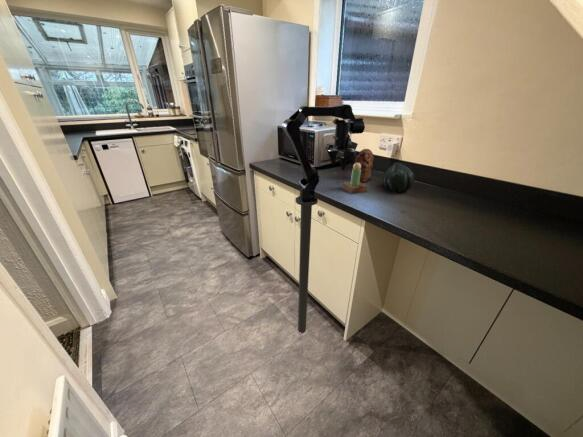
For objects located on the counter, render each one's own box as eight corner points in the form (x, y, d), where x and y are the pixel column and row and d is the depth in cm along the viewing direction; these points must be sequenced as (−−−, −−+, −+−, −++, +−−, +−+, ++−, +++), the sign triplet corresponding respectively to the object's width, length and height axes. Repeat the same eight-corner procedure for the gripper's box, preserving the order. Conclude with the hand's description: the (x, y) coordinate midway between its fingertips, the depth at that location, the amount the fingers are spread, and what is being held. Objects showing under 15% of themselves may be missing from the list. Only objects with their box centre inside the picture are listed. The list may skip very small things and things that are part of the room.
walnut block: (351, 193, 119) (351, 188, 117) (342, 187, 126) (342, 182, 125) (366, 191, 121) (366, 186, 120) (356, 186, 129) (357, 180, 128)
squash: (424, 182, 119) (410, 156, 120) (407, 189, 111) (393, 161, 113) (401, 192, 131) (389, 169, 133) (385, 199, 124) (372, 174, 125)
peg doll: (356, 186, 120) (359, 164, 114) (348, 184, 123) (351, 162, 117) (360, 184, 122) (363, 162, 117) (353, 182, 125) (356, 161, 120)
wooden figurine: (360, 183, 133) (365, 151, 124) (351, 180, 137) (355, 149, 129) (372, 179, 139) (378, 148, 131) (364, 176, 144) (368, 146, 135)
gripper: (368, 136, 102) (363, 171, 109) (346, 130, 117) (342, 161, 125) (346, 137, 98) (342, 173, 106) (326, 131, 114) (324, 163, 121)
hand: (338, 167), depth 115 cm, fingers open, 9 cm apart
